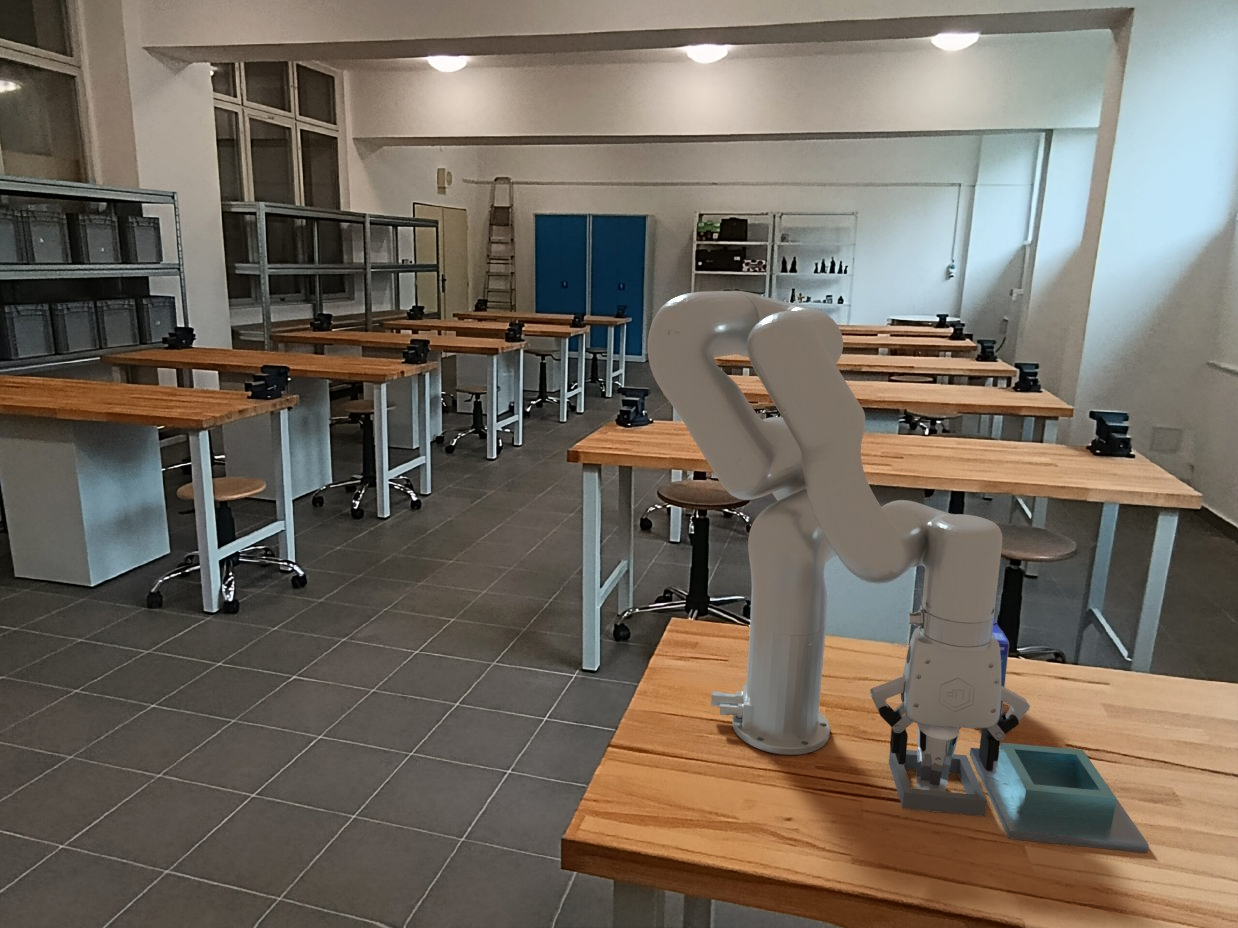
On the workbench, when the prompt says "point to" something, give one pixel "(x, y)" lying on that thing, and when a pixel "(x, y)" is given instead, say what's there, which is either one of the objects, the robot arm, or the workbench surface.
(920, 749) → the milkshake
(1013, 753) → the panel
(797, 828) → the workbench surface
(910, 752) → the square picture frame
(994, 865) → the workbench surface
